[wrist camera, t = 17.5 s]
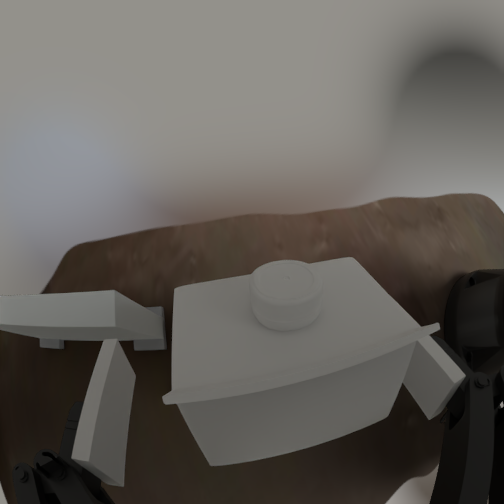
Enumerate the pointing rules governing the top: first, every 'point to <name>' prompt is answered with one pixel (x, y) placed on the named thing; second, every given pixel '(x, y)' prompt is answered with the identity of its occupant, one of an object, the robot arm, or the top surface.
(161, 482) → the top surface
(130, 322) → the grey screen
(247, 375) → the milk carton
